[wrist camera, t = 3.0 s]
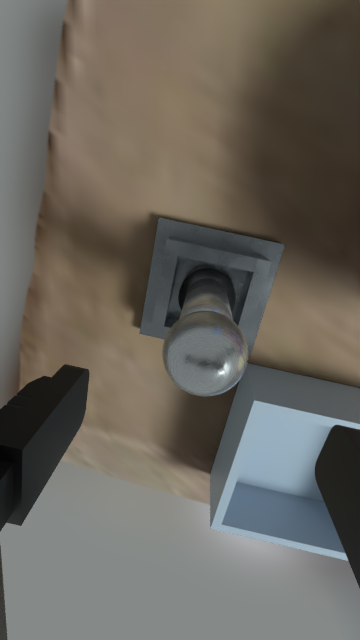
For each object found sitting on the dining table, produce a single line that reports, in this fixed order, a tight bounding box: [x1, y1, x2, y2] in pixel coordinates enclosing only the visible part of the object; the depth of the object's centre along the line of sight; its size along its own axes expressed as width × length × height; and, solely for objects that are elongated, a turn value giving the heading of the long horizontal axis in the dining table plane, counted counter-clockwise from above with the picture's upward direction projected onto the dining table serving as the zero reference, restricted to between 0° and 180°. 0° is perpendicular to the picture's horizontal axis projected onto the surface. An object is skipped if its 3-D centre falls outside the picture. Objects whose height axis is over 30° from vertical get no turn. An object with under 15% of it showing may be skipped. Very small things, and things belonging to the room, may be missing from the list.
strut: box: [162, 266, 248, 397], centre depth 19 cm, size 4×4×14 cm
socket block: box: [140, 217, 285, 358], centre depth 24 cm, size 10×10×4 cm
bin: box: [210, 363, 360, 561], centre depth 27 cm, size 14×14×6 cm
